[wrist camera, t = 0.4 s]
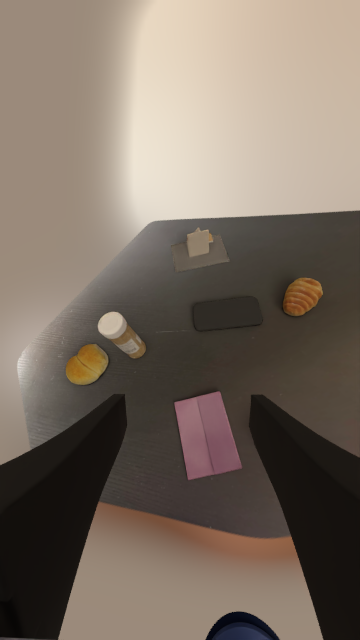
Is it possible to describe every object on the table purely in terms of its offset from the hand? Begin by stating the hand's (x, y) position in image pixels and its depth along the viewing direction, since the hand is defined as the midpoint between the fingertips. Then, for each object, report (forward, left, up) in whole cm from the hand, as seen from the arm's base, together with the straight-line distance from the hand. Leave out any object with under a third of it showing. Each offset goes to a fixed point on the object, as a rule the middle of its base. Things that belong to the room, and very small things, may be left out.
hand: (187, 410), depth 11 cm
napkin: (-2, 0, -28) cm, 29 cm away
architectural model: (+42, -10, -29) cm, 52 cm away
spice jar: (+17, +11, -29) cm, 35 cm away
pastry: (+19, -28, -29) cm, 44 cm away
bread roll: (+16, +22, -29) cm, 40 cm away
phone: (+20, -11, -28) cm, 37 cm away
